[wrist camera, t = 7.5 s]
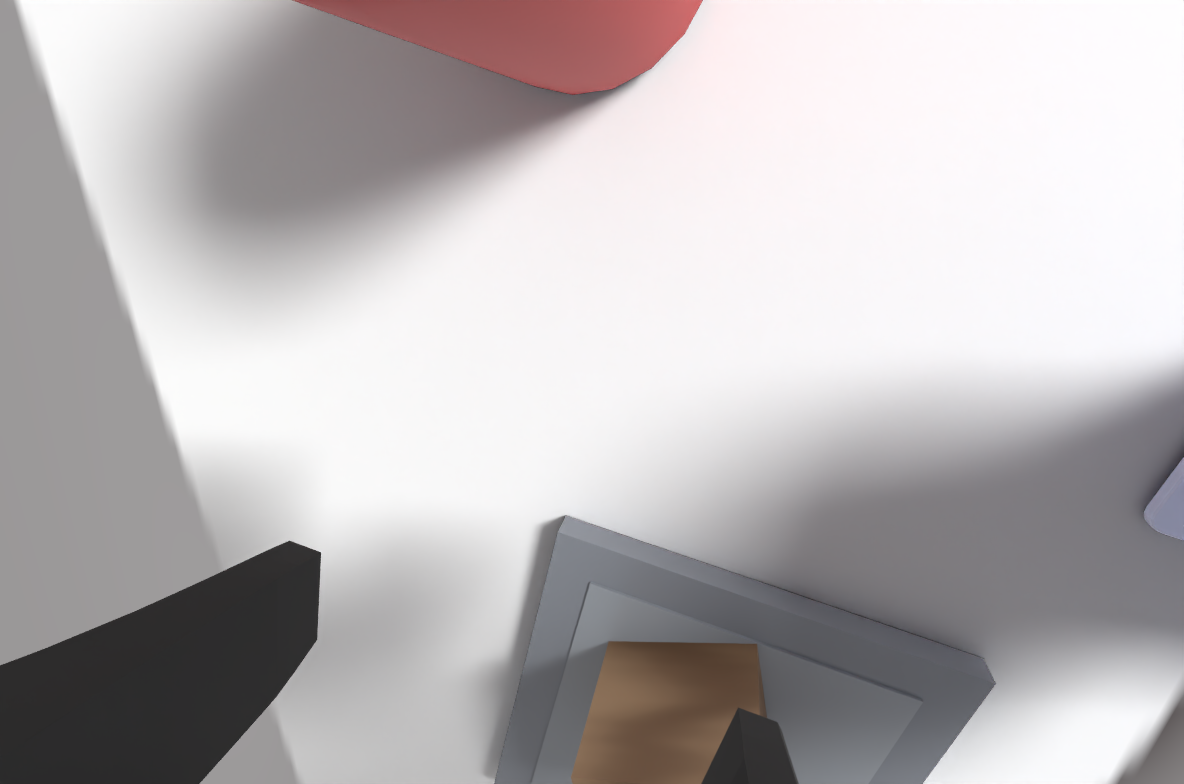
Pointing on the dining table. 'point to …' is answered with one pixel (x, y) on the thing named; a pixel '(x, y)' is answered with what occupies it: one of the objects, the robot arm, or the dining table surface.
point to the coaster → (745, 616)
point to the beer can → (534, 35)
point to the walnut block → (665, 710)
